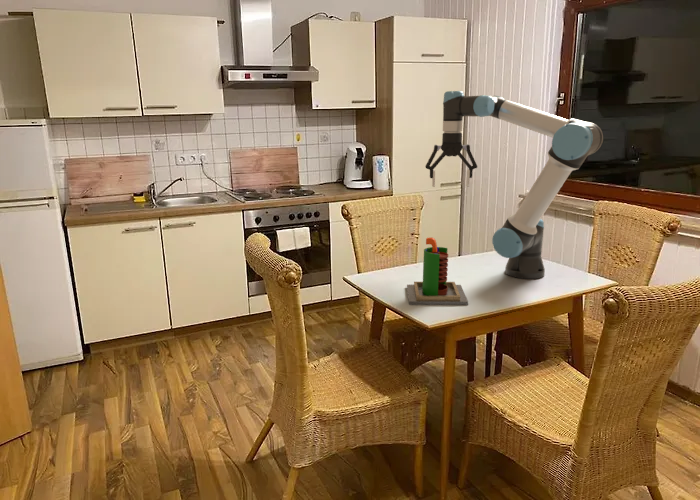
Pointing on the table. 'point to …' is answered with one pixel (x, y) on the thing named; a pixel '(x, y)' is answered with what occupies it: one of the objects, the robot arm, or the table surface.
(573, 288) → the table surface
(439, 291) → the green cylindrical holder
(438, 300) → the plate
